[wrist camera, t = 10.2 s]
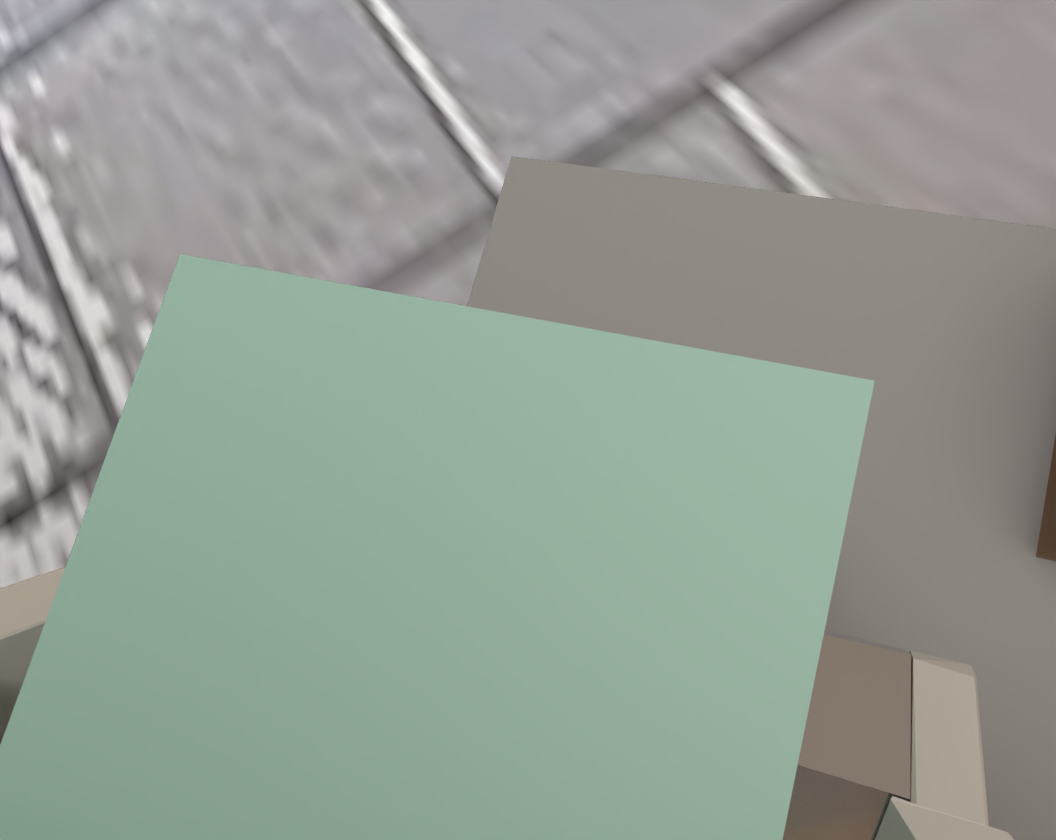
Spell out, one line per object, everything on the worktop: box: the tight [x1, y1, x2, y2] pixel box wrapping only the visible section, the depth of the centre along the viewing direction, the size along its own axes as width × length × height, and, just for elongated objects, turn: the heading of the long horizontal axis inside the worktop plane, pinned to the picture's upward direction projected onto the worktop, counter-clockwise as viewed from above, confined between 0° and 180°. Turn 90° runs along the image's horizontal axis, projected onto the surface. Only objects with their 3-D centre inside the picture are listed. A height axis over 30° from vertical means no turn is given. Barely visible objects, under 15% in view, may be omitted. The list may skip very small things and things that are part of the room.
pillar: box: [0, 254, 875, 840], centre depth 9 cm, size 4×4×9 cm
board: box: [467, 156, 1056, 840], centre depth 19 cm, size 20×16×1 cm
